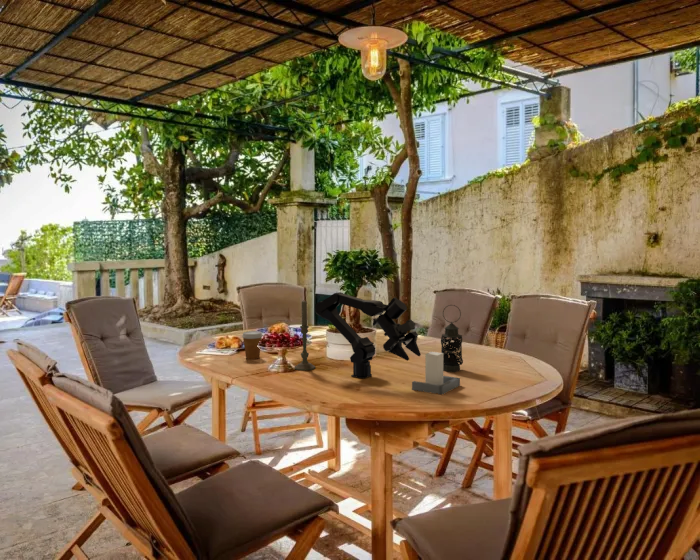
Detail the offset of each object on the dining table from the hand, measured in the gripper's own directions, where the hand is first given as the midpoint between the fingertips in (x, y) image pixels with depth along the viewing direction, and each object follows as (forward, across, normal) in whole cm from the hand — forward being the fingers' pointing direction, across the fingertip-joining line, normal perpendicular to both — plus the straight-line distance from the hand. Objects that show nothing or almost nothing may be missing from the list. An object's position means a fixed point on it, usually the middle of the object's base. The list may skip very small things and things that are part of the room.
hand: (414, 357), depth 229 cm
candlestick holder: (-30, -1, +45) cm, 54 cm away
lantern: (+9, +30, +6) cm, 32 cm away
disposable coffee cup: (-55, +3, +70) cm, 89 cm away
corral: (+13, 0, +1) cm, 13 cm away
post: (+13, 0, +1) cm, 13 cm away
